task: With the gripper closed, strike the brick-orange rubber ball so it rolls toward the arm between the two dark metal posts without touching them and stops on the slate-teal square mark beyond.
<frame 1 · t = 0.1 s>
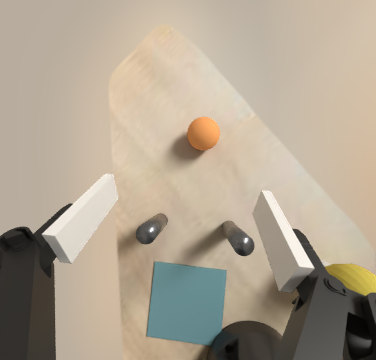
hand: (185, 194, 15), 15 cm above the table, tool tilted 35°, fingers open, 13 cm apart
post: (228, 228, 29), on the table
ball: (203, 134, 28), on the table
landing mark: (186, 302, 29), on the table
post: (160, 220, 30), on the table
light bulb: (315, 266, 28), on the table
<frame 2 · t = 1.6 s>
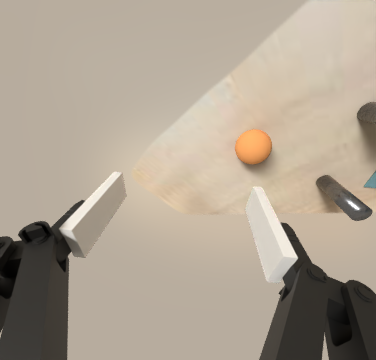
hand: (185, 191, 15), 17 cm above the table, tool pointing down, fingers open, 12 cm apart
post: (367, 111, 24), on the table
ball: (252, 147, 26), on the table
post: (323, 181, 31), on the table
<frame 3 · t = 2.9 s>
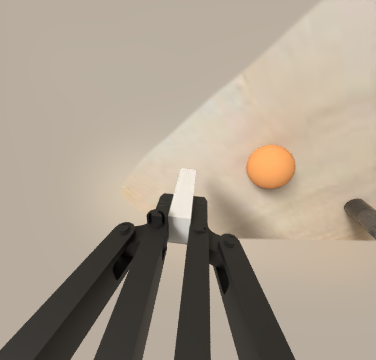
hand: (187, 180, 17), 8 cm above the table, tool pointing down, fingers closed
ball: (269, 167, 20), on the table
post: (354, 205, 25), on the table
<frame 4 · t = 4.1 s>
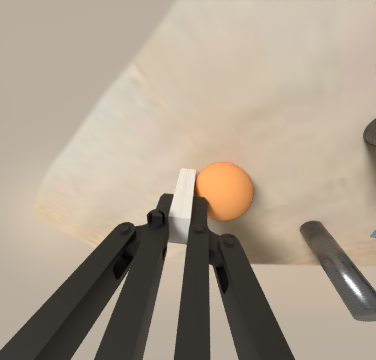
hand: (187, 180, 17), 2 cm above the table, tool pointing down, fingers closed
ball: (222, 191, 15), on the table
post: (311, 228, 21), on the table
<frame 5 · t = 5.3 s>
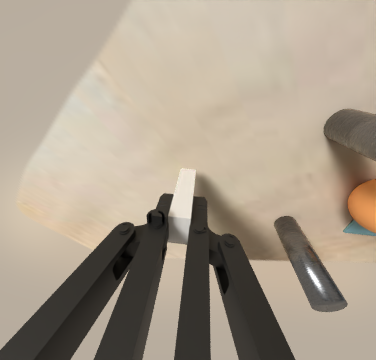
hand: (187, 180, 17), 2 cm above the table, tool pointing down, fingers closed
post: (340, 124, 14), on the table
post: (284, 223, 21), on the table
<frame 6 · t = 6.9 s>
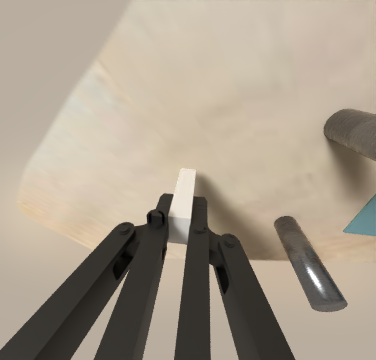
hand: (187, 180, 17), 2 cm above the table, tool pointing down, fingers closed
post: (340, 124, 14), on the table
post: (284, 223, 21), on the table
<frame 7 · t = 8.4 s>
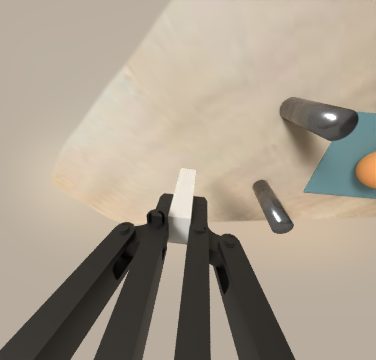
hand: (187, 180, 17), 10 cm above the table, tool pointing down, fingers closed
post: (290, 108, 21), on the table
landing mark: (366, 160, 24), on the table
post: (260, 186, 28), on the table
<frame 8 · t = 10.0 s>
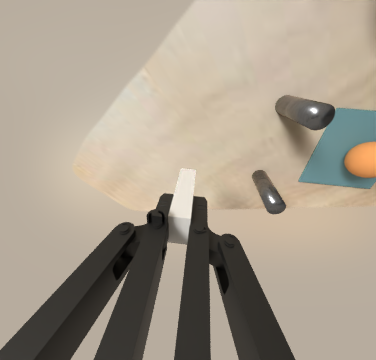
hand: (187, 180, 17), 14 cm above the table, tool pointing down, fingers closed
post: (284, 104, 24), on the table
ball: (369, 160, 25), on the table
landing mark: (354, 152, 27), on the table
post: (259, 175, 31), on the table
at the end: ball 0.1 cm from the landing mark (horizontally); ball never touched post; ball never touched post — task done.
